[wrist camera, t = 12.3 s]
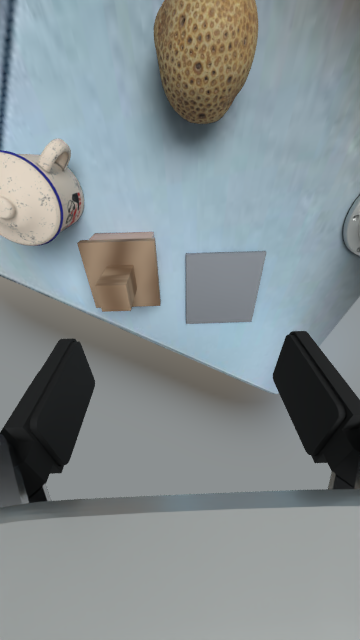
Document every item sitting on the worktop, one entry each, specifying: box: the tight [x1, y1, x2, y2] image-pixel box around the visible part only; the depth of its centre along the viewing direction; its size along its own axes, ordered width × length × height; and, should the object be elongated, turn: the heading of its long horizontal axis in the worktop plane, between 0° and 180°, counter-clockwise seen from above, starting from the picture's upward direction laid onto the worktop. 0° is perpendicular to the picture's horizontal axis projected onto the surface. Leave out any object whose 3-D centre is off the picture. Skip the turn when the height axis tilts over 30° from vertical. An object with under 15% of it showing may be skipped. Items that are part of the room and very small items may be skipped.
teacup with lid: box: [0, 139, 84, 246], centre depth 25 cm, size 12×9×12 cm
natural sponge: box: [154, 0, 258, 124], centre depth 20 cm, size 9×9×10 cm
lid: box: [77, 238, 161, 312], centre depth 30 cm, size 10×10×7 cm
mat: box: [186, 251, 266, 324], centre depth 40 cm, size 13×14×1 cm
